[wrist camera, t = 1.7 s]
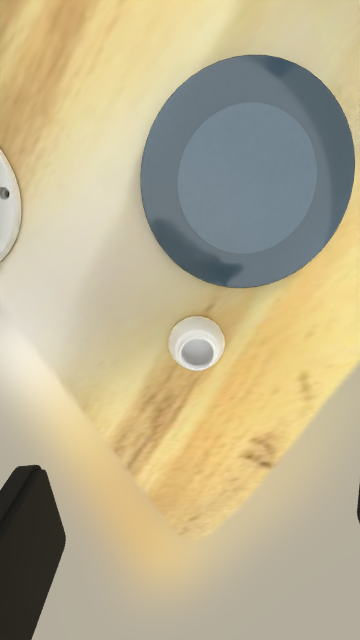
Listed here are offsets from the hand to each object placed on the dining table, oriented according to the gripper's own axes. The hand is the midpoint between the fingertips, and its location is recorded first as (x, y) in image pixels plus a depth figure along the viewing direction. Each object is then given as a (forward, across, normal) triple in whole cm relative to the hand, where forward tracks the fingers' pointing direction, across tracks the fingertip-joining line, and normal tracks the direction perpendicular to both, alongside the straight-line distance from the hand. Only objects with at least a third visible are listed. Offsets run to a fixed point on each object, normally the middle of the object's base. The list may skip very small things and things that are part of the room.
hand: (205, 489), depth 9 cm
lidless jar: (+19, 0, +3) cm, 19 cm away
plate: (+19, -5, -10) cm, 22 cm away
